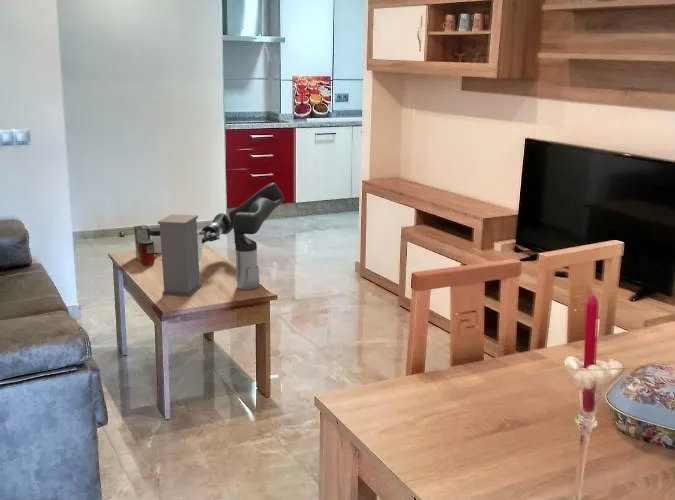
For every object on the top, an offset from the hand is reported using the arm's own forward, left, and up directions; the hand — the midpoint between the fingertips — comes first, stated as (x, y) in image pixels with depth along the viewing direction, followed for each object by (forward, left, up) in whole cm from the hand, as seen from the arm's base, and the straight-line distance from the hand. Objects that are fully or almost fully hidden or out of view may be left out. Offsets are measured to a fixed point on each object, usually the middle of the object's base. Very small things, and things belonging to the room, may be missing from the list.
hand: (198, 240), depth 329 cm
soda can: (+33, +8, -17) cm, 38 cm away
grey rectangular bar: (-1, +2, -5) cm, 5 cm away
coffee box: (+43, +4, -17) cm, 46 cm away
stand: (-13, +19, -16) cm, 28 cm away
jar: (+49, -8, -17) cm, 53 cm away
